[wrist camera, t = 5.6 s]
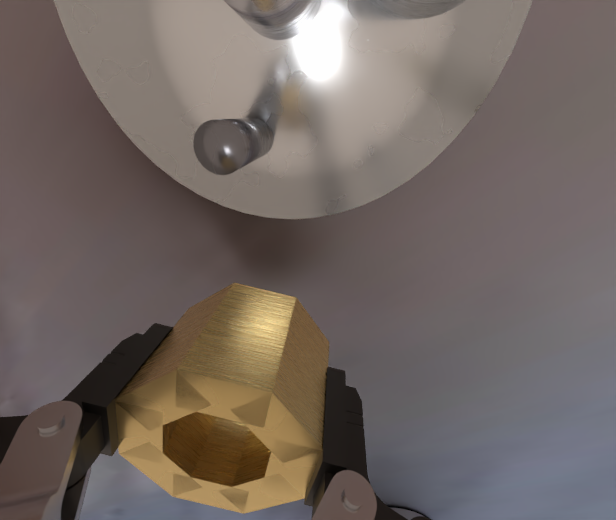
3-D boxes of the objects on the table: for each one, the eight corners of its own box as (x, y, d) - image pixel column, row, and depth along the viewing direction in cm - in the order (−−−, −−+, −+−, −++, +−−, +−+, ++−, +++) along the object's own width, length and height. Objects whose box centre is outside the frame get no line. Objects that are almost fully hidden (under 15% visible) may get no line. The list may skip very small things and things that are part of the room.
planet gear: (243, 411, 15) (205, 523, 11) (159, 324, 13) (75, 418, 9) (349, 370, 13) (354, 486, 9) (270, 262, 11) (229, 343, 7)
